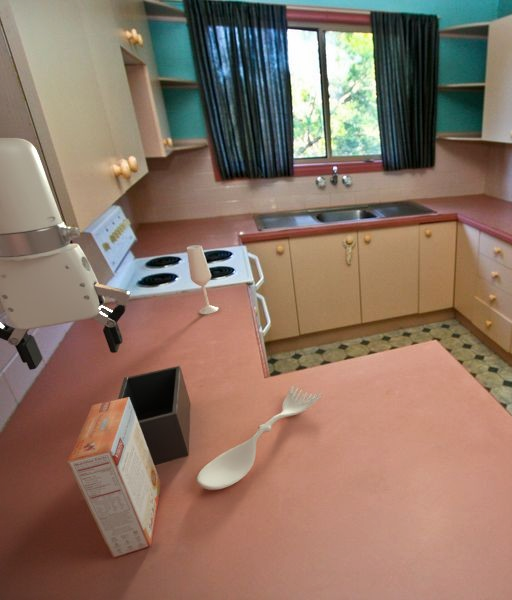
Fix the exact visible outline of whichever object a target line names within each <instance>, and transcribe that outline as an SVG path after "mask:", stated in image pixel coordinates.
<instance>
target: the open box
mask: <svg viewBox="0 0 512 600" xmlns="http://www.w3.org/2000/svg"><path fill="white" fill-rule="evenodd" d="M127 397H129V398H130V400H131V403H132V406H133V408H134V411H135V414H136V417H137V419H138V422H139V425H140V428H141V430H142V433H143V436H144V439H145V441H146V444H147V447H148V450H149V452H150V455H151V458H152V461H153V463H154V466H156V465H160V464H164V463H167V462H171V461H175V460H178V459H181V458H184V457H188V456H189V455H190V428H191V426H190V425H191V399H190V396H189V393H188V389H187V385H186V382H185V378H184V375H183V371H182V368H181V365H176V366H172V367H168V368H167V367H166V368H162V369H158V370H154V371H148V372H144V373H140V374H135V375H131V376H125V377H124V378H123V381H122V384H121V388H120V390H119V394H118V397H117V400H118V399H122V398H127Z"/></svg>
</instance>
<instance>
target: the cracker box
mask: <svg viewBox="0 0 512 600" xmlns="http://www.w3.org/2000/svg"><path fill="white" fill-rule="evenodd" d="M66 462H67V465H68V467H69V469H70V471H71V473H72V476H73V477H74V480H75V482H76V483H77V486H78V488H79V490H80V493H81V494H82V496H83V498H84V501H85V502H86V504H87V507H88V510H89V511H90V514H91V516H92V517H93V520H94V521H95V523H96V525H97V527H98V530H99V531H100V534H101V536H102V538H103V540H104V543H105V544H106V546H107V549H108V550H109V552H110V553H109V554H110V555H111V557H112V558H113V559H115V558H118V557H121V556H125V555H127V554H131V553H134V552H137V551H140V550H143V549H146V548H149V547H151V546H152V543H153V535H154V531H155V525H156V518H157V512H158V506H159V500H160V495H161V487H162V483H161V480H160V477H159V474H158V472H157V468H156V465H154V463H153V461H152V458H151V455H150V452H149V450H148V447H147V444H146V441H145V439H144V436H143V433H142V430H141V428H140V425H139V422H138V419H137V417H136V414H135V411H134V408H133V406H132V403H131V400H130V398H129V397H127V398H122V399H118V398H117V399H114V400H110V401H105V402H100V403H96V404H93V405H92V406H91V408H90V410H89V413H88V415H87V417H86V419H85V421H84V424H83V426H82V428H81V430H80V432H79V435H78V437H77V440H76V441H75V444H74V446H73V448H72V450H71V453H70V455H69V457H68V459H67V461H66Z"/></svg>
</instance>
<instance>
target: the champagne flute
mask: <svg viewBox="0 0 512 600" xmlns="http://www.w3.org/2000/svg"><path fill="white" fill-rule="evenodd" d="M186 255H187V261H188V268H189V275H190V280H191V281H192V283H194V284H195V285H197V286H199V287H201V291H202V296H203V299H204V303H205V304H204V305H205V306H203V307H201V309H199V310H198V313H199V314H200V315H210V314H213V313H215V312H218V310H219V307H218V306H214V305H211V304H210V302H209V298H208V293H207V289H206V286H207V284H208V283H209V282H210V281H211V279H212V273H211V270H210V268H209V264H208V262H207V257H206V255H205V252H204V249H203V245H200V244H194V245H189V246H187V247H186Z"/></svg>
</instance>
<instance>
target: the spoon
mask: <svg viewBox="0 0 512 600" xmlns="http://www.w3.org/2000/svg"><path fill="white" fill-rule="evenodd" d="M295 388H296V384H293V385H292V386H291V387H290V388H289V390H288V392H287V394H286V395H285V398H284V399H283V401H282V405H281V412H280V413H278V414H275V415H274V416H272V417H271V418H270V419H269V420H267V421H266V422H264V423H261V424H259V425H258V430H257V432H256V433H254V435H253V436H251V437H250V438H249V439H246V441H244V442H242V443H240V444H238V445H236V446H234V447H232V448H230V449H228V450H226V451H224V452H223V453H221V454H219V455H218V456H216V457H214V458H213V459H212V460H210V461H209V462H208V463H207V464H205V465H204V466H203V467H202V468H201V470H200V471H199V473H198V474H197V477H196V481H197V484H198V485H199V486H200V487H201V488H203V489H205V490H208V491H216V490H222V489H223V490H224V489H226V488H229V487H230V486H232V485H234V484H236V483H237V482H239V481H241V480H242V479H243V478H244V477H245V476H246V475H247V474H248V473H249V471H251V469H252V468H253V466H254V464H255V459H256V454H257V453H256V452H257V442H258V440H259V438H260V437H261V435H263V434H264V433H267V432H270V431H271V430H272V429H273V428H272V426H273V425H274V424H275V423H276V422H278V421H279V420H281V419H284V418H289V417H293V416H296V415H300V414H302V413H304V412H305V411H307V410H308V409H310V407H312V406H313V405H314V404H315V403H317V402H318V401H319V400H320V399H321V397H322V395H323V392H320V393H317V392H316V393H313V392H311V393H310V394H309V395H308V391H306V392H305V393H303V389H300V391H298V390H299V387H297V388H296V389H295ZM302 393H303V394H302ZM301 394H302V395H301Z"/></svg>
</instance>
